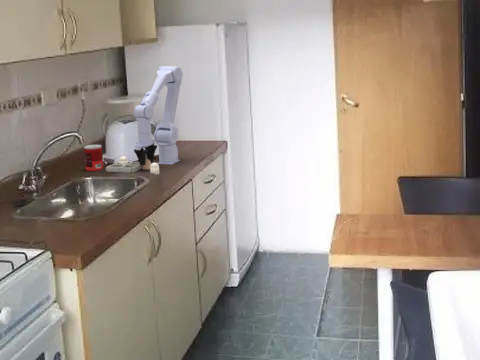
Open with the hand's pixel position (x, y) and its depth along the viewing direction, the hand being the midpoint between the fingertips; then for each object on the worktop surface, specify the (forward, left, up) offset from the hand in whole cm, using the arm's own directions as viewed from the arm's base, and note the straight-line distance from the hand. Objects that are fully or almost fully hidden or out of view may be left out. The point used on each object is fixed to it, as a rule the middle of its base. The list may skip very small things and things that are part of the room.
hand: (146, 163), depth 297 cm
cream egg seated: (-1, -12, -2) cm, 12 cm away
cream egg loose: (+6, +7, -3) cm, 10 cm away
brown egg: (0, 0, -3) cm, 3 cm away
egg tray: (+2, -9, -3) cm, 10 cm away
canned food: (+5, -23, -3) cm, 24 cm away
